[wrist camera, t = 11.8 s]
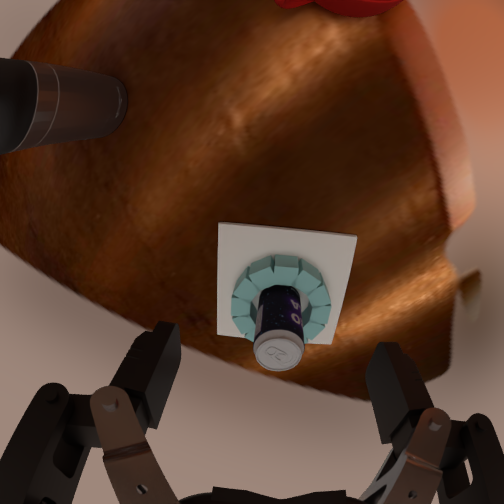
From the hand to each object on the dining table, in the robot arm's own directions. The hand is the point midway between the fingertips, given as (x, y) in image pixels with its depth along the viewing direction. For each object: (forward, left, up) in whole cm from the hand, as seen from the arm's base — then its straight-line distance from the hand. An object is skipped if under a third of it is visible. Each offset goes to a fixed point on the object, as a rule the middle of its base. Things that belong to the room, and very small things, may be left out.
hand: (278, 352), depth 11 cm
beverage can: (+1, -14, -27) cm, 30 cm away
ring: (+2, -14, -26) cm, 30 cm away
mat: (+2, -13, -27) cm, 30 cm away
